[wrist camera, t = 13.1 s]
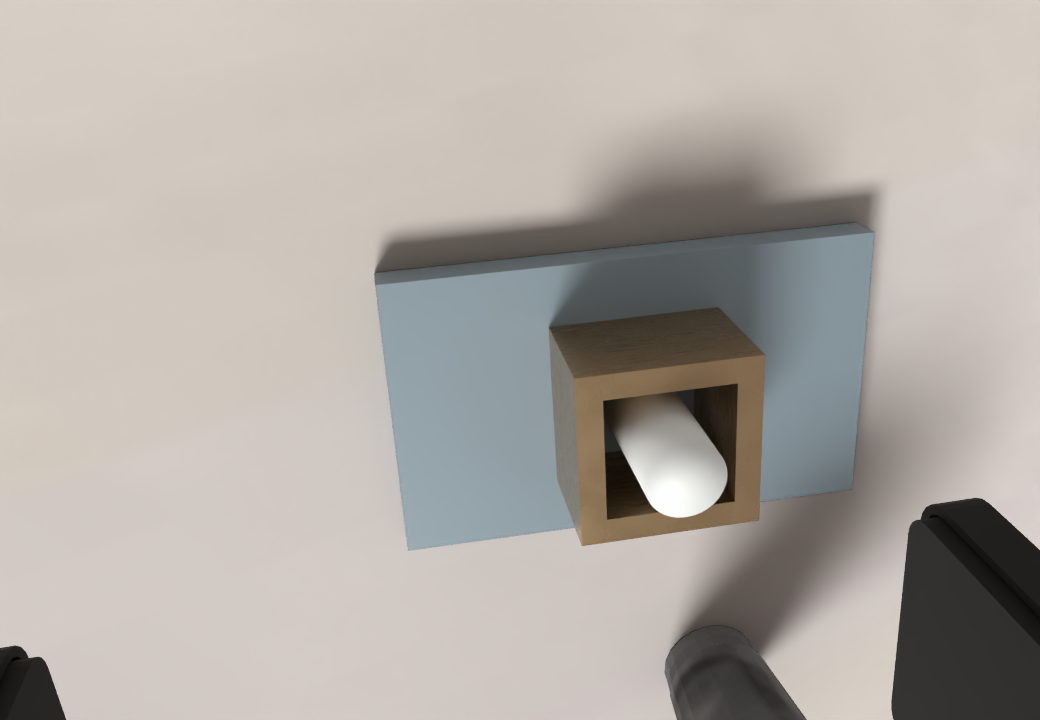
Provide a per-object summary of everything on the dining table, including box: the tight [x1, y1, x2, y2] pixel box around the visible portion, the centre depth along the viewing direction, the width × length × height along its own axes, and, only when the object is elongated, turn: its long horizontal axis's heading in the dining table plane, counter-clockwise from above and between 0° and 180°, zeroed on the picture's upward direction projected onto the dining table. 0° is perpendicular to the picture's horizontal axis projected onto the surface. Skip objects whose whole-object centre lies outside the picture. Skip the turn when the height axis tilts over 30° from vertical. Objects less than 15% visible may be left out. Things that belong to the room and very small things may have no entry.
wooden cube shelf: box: [548, 307, 765, 546], centre depth 39 cm, size 7×7×5 cm
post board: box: [374, 223, 875, 551], centre depth 39 cm, size 20×12×8 cm, turn 93°
